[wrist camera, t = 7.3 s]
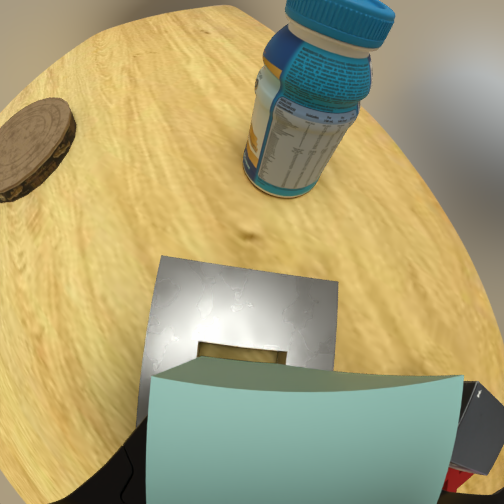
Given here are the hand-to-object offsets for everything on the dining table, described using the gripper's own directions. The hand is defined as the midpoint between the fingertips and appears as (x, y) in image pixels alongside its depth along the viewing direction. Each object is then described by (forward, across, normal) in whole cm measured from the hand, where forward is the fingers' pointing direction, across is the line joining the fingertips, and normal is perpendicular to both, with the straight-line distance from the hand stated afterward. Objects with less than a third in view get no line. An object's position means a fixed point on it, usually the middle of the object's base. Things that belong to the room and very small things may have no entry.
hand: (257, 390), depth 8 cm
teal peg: (+4, 0, +6) cm, 7 cm away
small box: (+5, -19, +14) cm, 24 cm away
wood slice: (+24, +30, -4) cm, 39 cm away
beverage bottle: (+24, -3, -5) cm, 24 cm away
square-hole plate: (+8, 0, +10) cm, 14 cm away
